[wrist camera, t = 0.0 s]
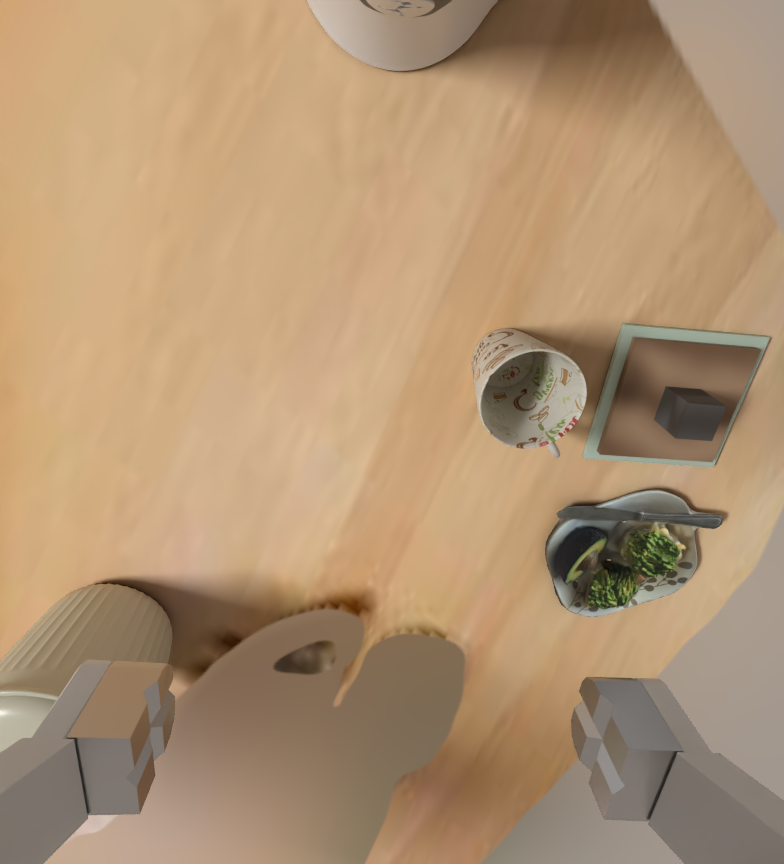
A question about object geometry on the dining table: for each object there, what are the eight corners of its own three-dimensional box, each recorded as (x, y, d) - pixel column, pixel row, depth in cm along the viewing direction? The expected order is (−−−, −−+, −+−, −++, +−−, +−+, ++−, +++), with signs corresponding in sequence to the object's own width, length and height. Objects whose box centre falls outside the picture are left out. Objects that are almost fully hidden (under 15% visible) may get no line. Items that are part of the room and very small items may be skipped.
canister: (158, 544, 56) (52, 730, 37) (220, 654, 64) (158, 852, 46) (7, 576, 58) (-169, 772, 39) (86, 680, 66) (-27, 884, 47)
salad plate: (707, 451, 54) (734, 474, 50) (718, 571, 62) (743, 600, 58) (529, 507, 56) (541, 534, 52) (561, 616, 64) (574, 647, 60)
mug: (523, 297, 46) (560, 327, 37) (579, 404, 50) (624, 453, 42) (442, 347, 47) (459, 387, 38) (504, 446, 52) (532, 502, 43)
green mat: (622, 323, 47) (625, 324, 46) (765, 335, 48) (770, 337, 47) (582, 455, 53) (584, 458, 53) (710, 464, 54) (713, 467, 54)
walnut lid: (632, 336, 47) (658, 353, 43) (755, 347, 48) (793, 364, 44) (596, 450, 52) (616, 475, 48) (707, 458, 53) (737, 483, 49)
